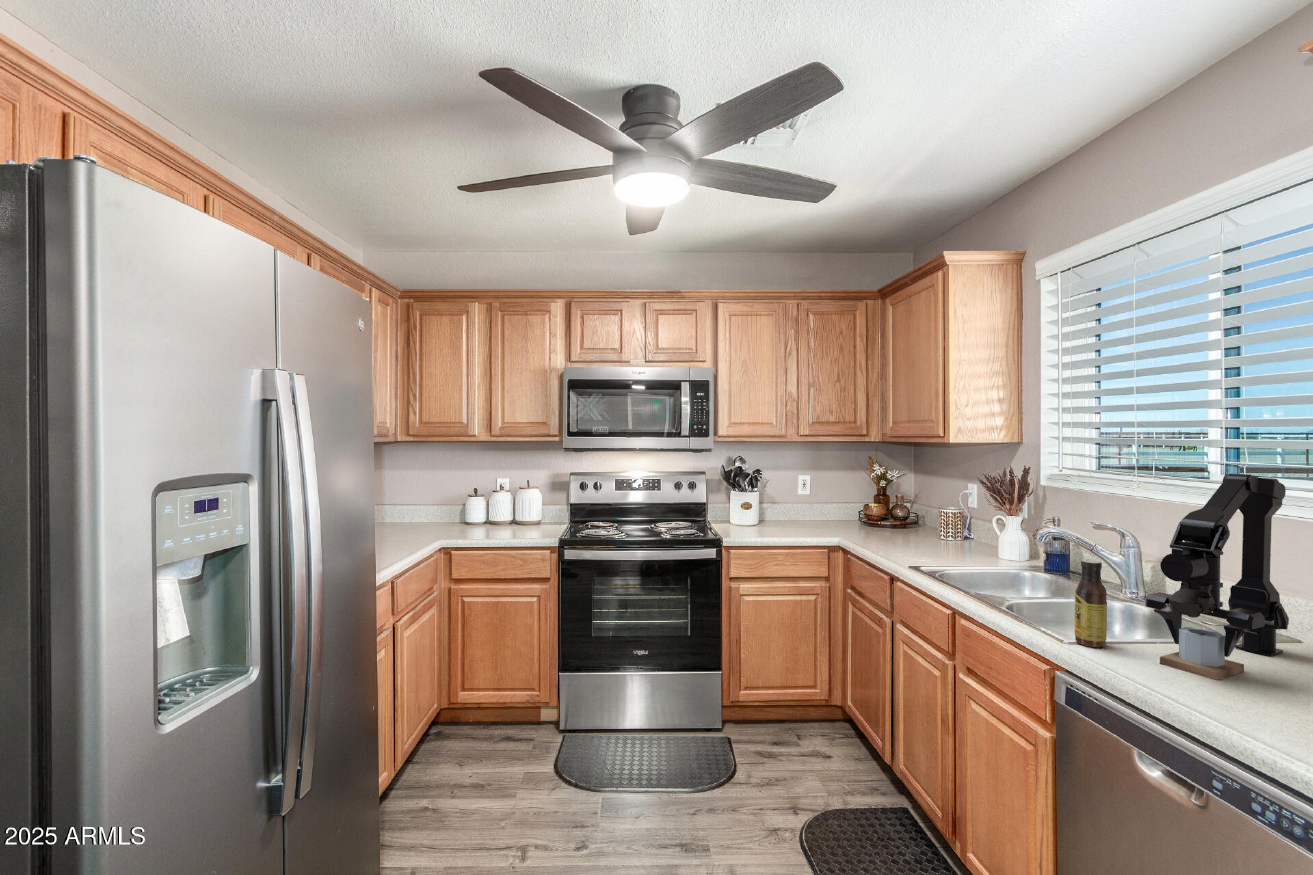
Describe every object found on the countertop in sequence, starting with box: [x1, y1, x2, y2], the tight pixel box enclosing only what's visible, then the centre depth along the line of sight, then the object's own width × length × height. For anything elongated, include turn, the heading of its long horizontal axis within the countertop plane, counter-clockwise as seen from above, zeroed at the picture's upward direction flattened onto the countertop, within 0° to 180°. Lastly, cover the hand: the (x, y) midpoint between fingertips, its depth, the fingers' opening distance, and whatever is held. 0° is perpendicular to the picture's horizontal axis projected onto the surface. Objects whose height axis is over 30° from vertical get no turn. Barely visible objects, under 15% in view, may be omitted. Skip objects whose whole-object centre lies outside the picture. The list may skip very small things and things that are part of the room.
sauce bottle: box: [1074, 558, 1108, 649], centre depth 149 cm, size 7×6×20 cm
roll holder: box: [1159, 632, 1245, 681], centre depth 134 cm, size 11×10×8 cm
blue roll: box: [1178, 626, 1226, 667], centre depth 134 cm, size 7×7×6 cm
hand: (1201, 649), depth 134 cm, fingers open, 8 cm apart
